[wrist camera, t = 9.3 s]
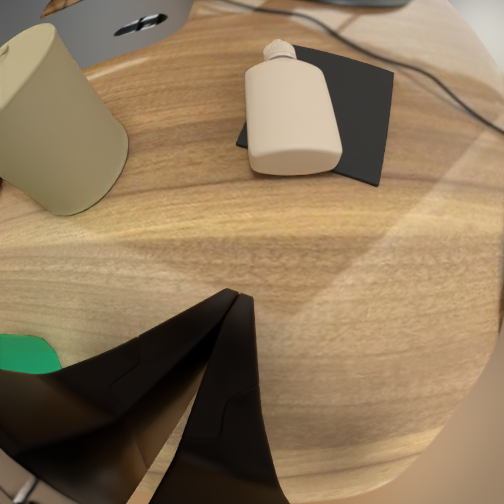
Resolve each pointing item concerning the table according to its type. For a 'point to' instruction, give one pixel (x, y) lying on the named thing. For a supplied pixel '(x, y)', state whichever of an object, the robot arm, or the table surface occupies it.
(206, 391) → the robot arm
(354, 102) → the felt mat
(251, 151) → the eye dropper bottle
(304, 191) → the table surface
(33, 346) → the candle
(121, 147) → the can
